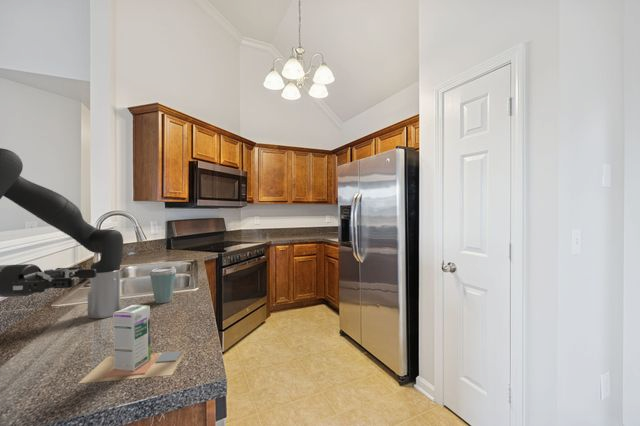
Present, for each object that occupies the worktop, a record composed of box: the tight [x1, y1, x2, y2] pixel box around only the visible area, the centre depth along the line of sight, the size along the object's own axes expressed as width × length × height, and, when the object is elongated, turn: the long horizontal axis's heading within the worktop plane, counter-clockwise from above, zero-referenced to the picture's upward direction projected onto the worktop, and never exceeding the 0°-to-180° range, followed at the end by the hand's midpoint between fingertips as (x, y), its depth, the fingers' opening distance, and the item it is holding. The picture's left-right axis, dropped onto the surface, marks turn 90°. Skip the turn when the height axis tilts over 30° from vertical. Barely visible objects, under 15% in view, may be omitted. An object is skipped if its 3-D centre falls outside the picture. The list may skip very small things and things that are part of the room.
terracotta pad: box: [104, 354, 159, 378], centre depth 72 cm, size 9×9×1 cm
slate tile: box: [156, 350, 183, 363], centre depth 76 cm, size 5×5×1 cm
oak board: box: [77, 350, 187, 385], centre depth 72 cm, size 20×12×1 cm, turn 100°
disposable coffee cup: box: [149, 265, 177, 304], centre depth 127 cm, size 11×11×15 cm
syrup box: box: [112, 304, 152, 371], centre depth 72 cm, size 6×6×14 cm
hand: (85, 277), depth 70 cm, fingers open, 8 cm apart
